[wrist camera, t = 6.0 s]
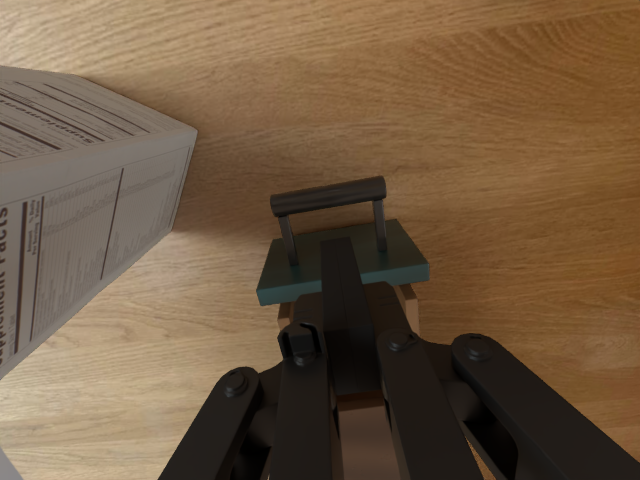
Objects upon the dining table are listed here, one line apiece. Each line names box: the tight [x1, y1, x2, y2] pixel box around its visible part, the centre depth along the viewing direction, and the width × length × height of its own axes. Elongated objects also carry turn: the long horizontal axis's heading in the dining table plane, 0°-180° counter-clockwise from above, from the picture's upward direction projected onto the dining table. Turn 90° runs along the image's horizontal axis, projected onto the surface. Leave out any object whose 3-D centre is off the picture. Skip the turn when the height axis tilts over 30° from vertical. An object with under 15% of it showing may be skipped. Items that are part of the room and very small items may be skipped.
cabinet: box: [337, 396, 401, 480], centre depth 28 cm, size 15×12×10 cm
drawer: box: [256, 176, 430, 402], centre depth 23 cm, size 18×10×8 cm, turn 10°
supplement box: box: [0, 66, 198, 380], centre depth 16 cm, size 10×9×17 cm
